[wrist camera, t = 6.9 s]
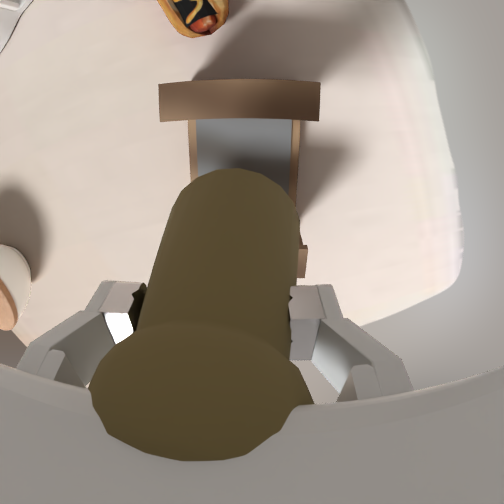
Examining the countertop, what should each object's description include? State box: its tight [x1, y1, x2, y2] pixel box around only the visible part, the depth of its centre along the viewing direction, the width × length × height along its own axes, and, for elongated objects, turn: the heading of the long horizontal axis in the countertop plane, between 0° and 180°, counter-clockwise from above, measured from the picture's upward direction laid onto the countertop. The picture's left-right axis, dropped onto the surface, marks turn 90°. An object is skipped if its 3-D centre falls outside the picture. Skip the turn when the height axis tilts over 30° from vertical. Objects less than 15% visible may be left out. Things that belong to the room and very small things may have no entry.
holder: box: [158, 79, 321, 278], centre depth 22 cm, size 14×9×8 cm
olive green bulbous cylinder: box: [88, 168, 314, 461], centre depth 9 cm, size 6×6×11 cm
